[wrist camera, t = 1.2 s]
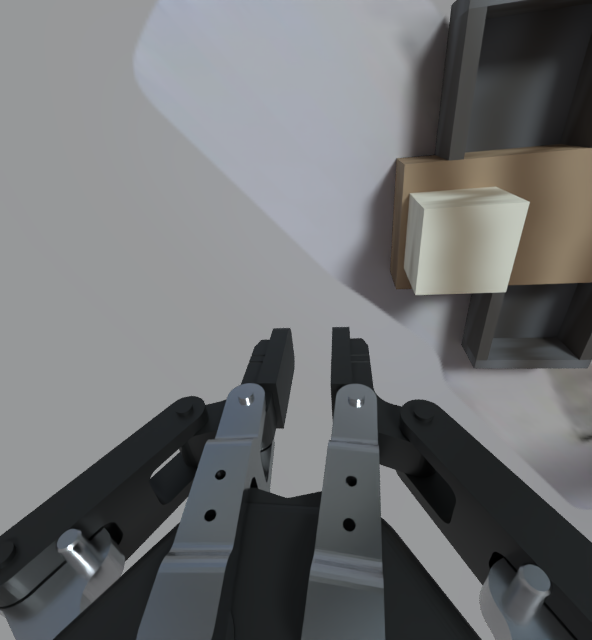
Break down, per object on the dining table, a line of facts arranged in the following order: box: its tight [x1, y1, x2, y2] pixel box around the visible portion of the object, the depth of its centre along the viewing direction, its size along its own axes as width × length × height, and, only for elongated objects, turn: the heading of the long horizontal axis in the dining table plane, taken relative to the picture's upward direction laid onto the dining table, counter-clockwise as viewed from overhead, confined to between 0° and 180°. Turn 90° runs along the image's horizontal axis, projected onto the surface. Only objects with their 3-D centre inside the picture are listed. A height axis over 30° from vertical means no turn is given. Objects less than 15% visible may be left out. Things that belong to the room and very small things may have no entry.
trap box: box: [390, 0, 592, 368], centre depth 25 cm, size 27×28×7 cm
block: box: [404, 187, 530, 295], centre depth 24 cm, size 6×6×5 cm
